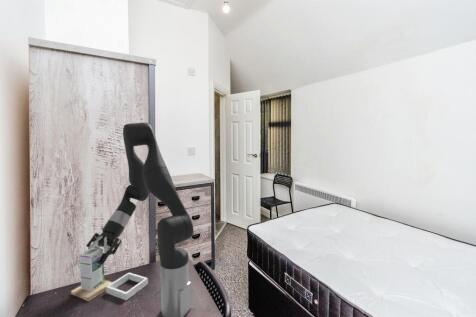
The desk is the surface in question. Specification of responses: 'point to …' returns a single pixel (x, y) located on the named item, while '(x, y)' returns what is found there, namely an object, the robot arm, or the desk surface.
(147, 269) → the desk surface
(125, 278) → the white square frame
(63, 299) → the desk surface
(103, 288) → the oak board
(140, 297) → the desk surface
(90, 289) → the syrup box
